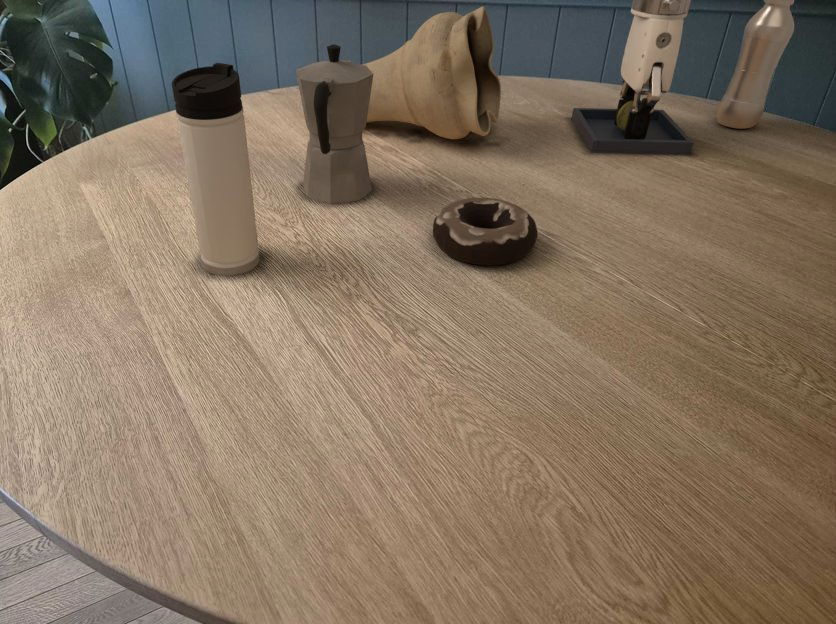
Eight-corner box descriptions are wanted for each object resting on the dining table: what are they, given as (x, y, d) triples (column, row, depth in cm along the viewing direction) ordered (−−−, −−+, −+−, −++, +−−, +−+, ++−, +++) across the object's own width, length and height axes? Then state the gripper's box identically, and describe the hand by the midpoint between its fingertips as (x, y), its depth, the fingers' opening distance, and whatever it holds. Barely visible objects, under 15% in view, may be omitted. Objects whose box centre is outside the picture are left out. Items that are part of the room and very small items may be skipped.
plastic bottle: (706, 119, 110) (749, -16, 98) (747, 120, 110) (795, -15, 98) (720, 133, 105) (768, -8, 93) (763, 134, 105) (817, -7, 93)
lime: (617, 126, 105) (625, 94, 102) (648, 133, 103) (657, 100, 100) (608, 135, 102) (616, 102, 99) (639, 141, 100) (648, 108, 97)
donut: (532, 278, 70) (538, 245, 68) (423, 264, 72) (425, 232, 70) (536, 228, 79) (542, 197, 77) (439, 217, 81) (441, 187, 79)
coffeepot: (313, 168, 93) (306, 29, 82) (379, 172, 92) (381, 33, 81) (286, 217, 81) (273, 63, 70) (361, 223, 80) (361, 67, 69)
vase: (272, 52, 92) (466, 14, 81) (324, -4, 106) (496, -43, 95) (322, 186, 107) (493, 170, 95) (363, 121, 120) (516, 100, 109)
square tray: (659, 122, 109) (663, 109, 108) (689, 156, 97) (694, 142, 96) (570, 120, 109) (573, 107, 108) (590, 154, 98) (593, 140, 97)
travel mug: (272, 254, 74) (254, 67, 62) (239, 282, 69) (212, 86, 57) (225, 242, 76) (199, 59, 64) (190, 269, 71) (154, 76, 59)
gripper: (711, 16, 85) (670, 153, 96) (669, -9, 98) (637, 114, 109) (652, 15, 85) (618, 152, 96) (618, -10, 98) (592, 113, 110)
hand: (629, 130), depth 103 cm, fingers closed on lime, 5 cm apart
